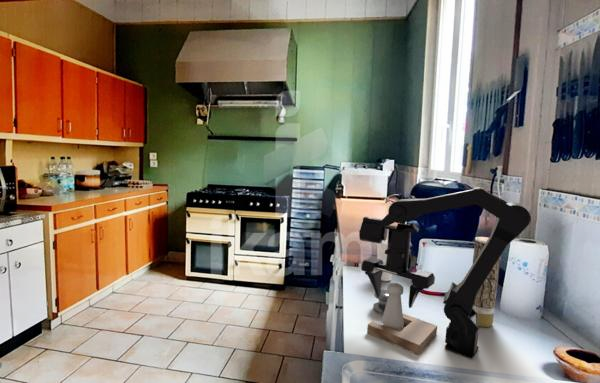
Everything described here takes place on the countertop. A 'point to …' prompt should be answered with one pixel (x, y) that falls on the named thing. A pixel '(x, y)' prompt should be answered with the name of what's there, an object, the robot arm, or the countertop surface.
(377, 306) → the spool
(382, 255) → the drinking glass
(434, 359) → the countertop surface
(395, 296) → the salt shaker
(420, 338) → the notched board
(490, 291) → the wooden log
